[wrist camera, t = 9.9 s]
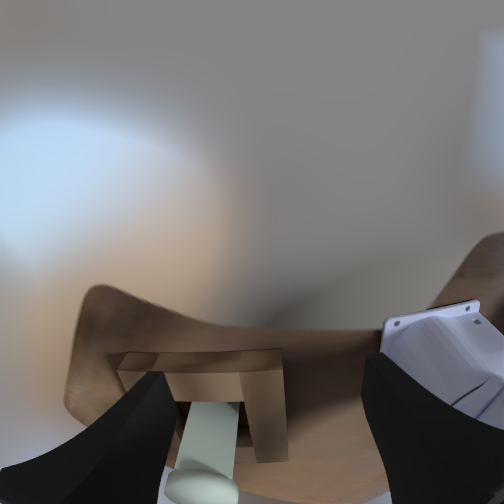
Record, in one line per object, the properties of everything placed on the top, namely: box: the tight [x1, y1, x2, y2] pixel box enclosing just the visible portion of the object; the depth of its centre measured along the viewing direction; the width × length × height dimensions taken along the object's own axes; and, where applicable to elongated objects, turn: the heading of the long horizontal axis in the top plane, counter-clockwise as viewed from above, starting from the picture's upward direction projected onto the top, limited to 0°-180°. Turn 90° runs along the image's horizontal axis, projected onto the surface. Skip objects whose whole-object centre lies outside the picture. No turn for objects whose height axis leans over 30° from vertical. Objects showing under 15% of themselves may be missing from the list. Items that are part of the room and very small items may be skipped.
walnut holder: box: [117, 348, 289, 463], centre depth 23 cm, size 12×12×2 cm
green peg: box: [164, 402, 240, 504], centre depth 19 cm, size 5×5×10 cm
